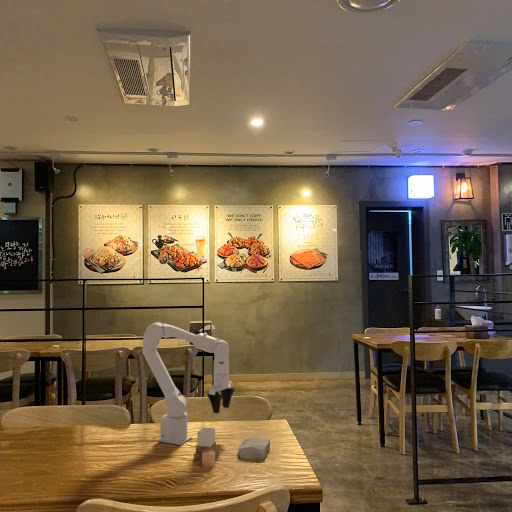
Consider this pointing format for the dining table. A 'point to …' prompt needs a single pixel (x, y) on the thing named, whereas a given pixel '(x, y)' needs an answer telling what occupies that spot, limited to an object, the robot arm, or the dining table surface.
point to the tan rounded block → (208, 459)
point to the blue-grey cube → (206, 437)
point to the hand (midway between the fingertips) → (221, 410)
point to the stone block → (254, 448)
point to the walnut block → (205, 448)
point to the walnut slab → (199, 456)
